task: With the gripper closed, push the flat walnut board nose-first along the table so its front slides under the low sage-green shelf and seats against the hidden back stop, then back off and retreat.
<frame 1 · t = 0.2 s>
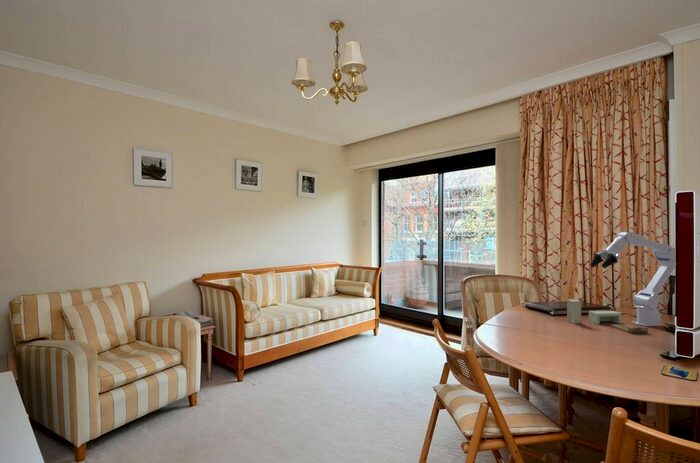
hand: (597, 266, 188), 31 cm above the table, tool tilted 45°, fingers open, 7 cm apart
skincare box: (574, 322, 195), on the table
shelf: (604, 322, 196), on the table
board: (628, 330, 180), on the table
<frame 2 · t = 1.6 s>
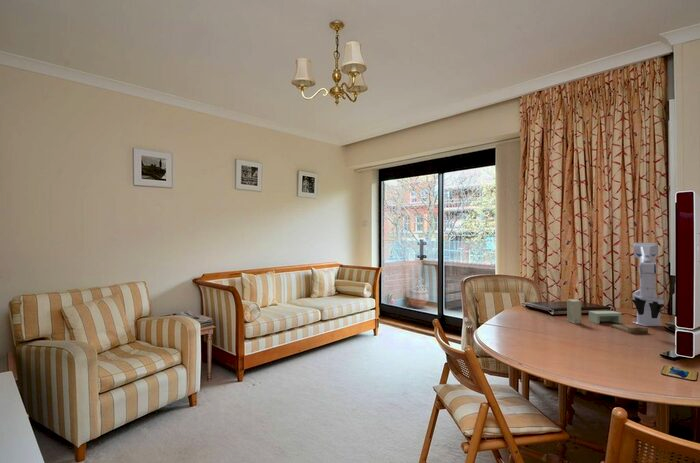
hand: (647, 316, 170), 9 cm above the table, tool pointing down, fingers open, 7 cm apart
nothing on the table moved.
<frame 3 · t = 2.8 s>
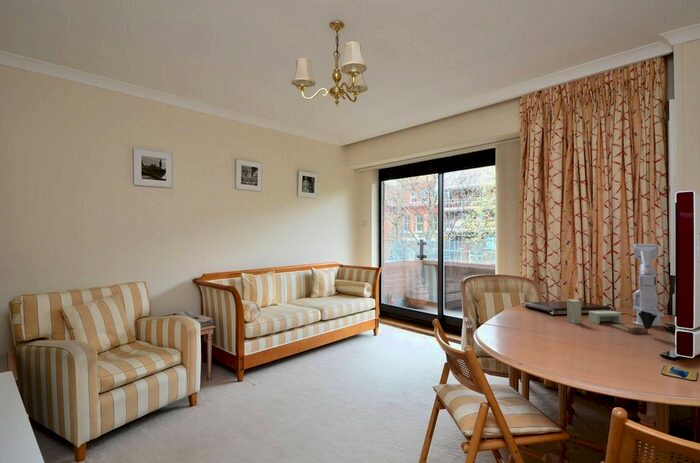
hand: (647, 328, 170), 4 cm above the table, tool pointing down, fingers closed
nothing on the table moved.
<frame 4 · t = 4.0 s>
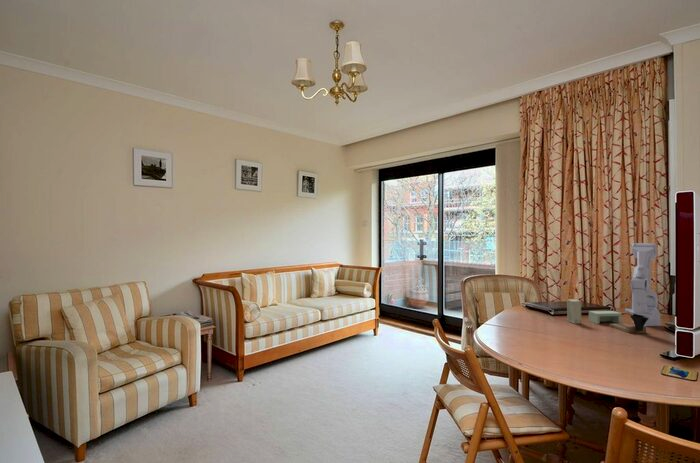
hand: (639, 330, 174), 1 cm above the table, tool pointing down, fingers closed
board: (627, 329, 181), on the table, touching gripper
everything else where it was.
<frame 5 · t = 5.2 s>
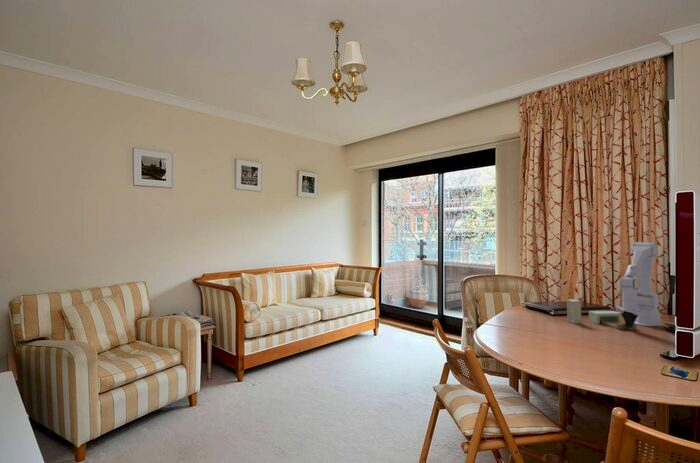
hand: (629, 327, 180), 1 cm above the table, tool pointing down, fingers closed
board: (618, 326, 187), on the table, touching gripper
everything else where it was.
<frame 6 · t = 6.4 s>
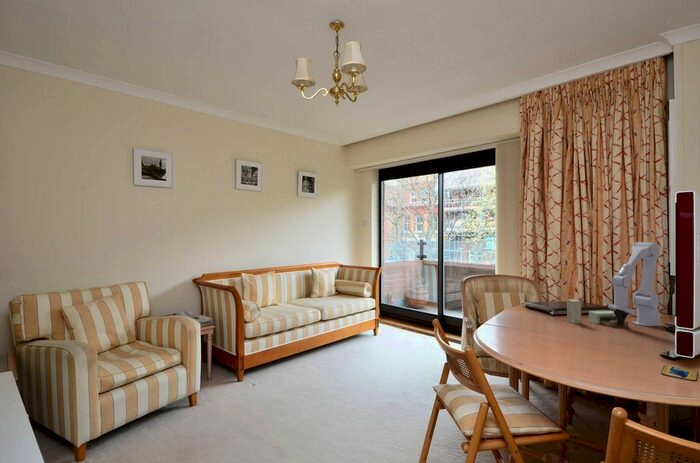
hand: (621, 324, 185), 1 cm above the table, tool pointing down, fingers closed
board: (610, 324, 192), on the table, touching gripper, shelf
everything else where it was.
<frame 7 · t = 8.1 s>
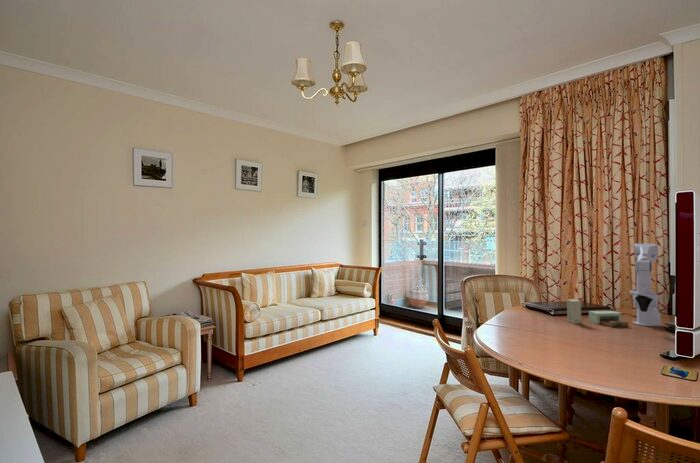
hand: (643, 311, 178), 10 cm above the table, tool pointing down, fingers closed
board: (610, 324, 192), on the table
everything else where it was.
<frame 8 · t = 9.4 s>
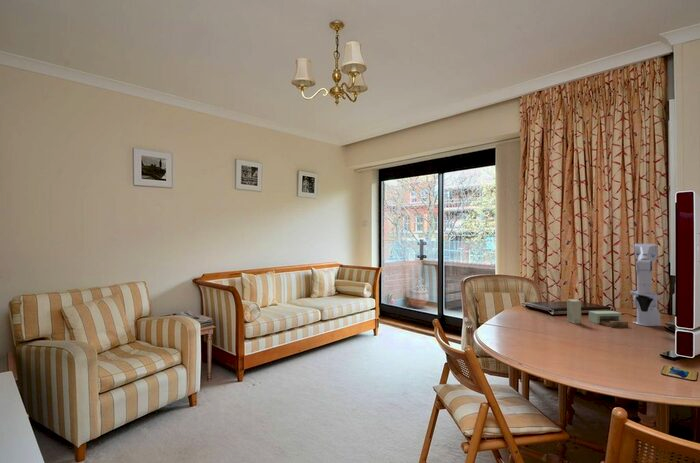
hand: (644, 311, 178), 10 cm above the table, tool pointing down, fingers closed
nothing on the table moved.
at the end: board 0.5 cm from the target spot on the table beside the shelf, on the table; board tilted 0°; board moved 11.5 cm from its start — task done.
